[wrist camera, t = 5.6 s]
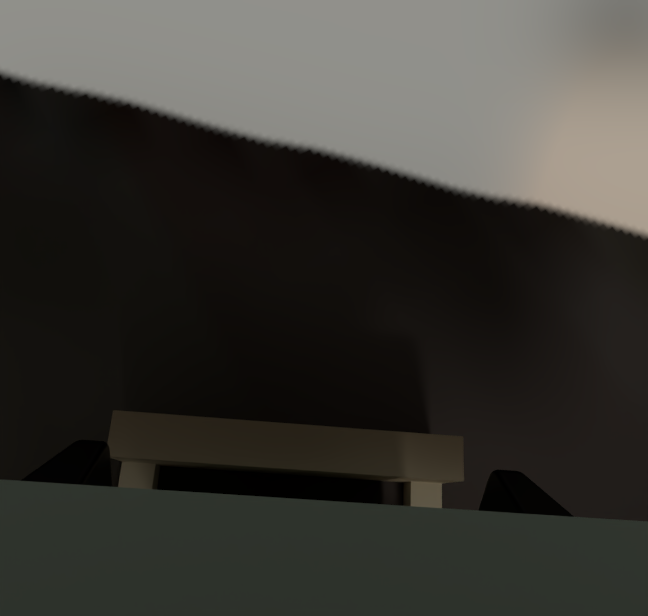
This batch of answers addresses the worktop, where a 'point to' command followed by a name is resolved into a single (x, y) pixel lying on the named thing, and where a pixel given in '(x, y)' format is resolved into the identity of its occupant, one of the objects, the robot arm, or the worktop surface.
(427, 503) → the rack
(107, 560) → the panel
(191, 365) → the worktop surface
